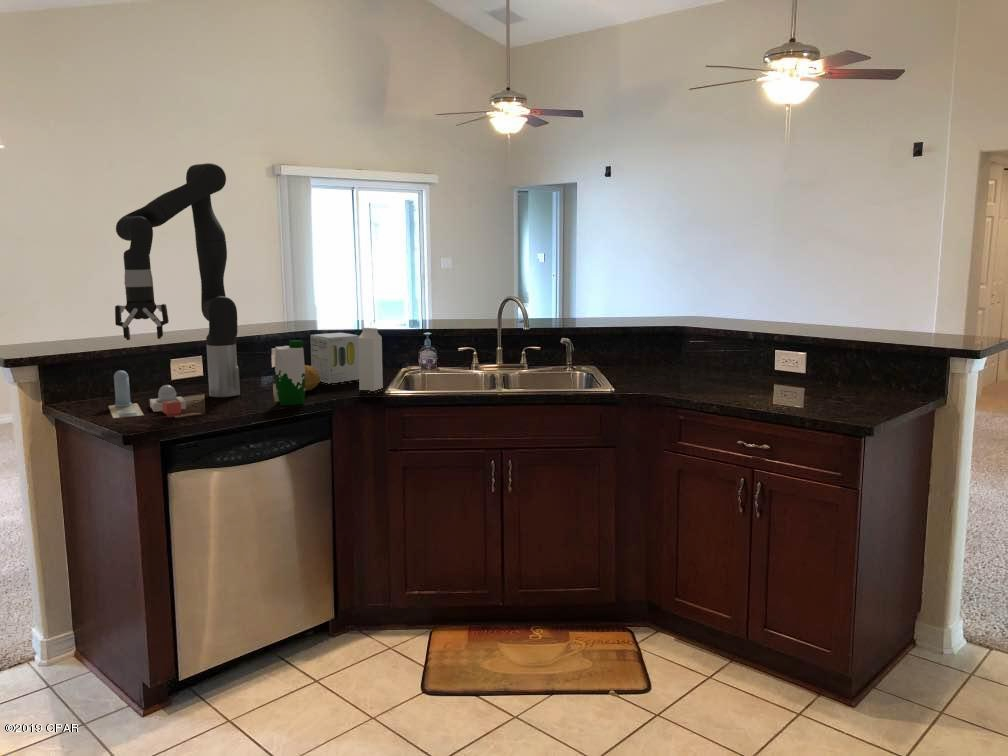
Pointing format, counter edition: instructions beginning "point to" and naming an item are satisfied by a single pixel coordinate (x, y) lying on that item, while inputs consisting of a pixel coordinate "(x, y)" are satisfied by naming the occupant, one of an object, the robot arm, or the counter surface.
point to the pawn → (122, 389)
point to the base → (158, 406)
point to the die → (171, 408)
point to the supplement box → (335, 357)
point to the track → (126, 411)
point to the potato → (311, 377)
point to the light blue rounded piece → (166, 393)
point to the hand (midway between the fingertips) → (143, 339)
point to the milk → (370, 360)
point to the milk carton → (290, 373)
